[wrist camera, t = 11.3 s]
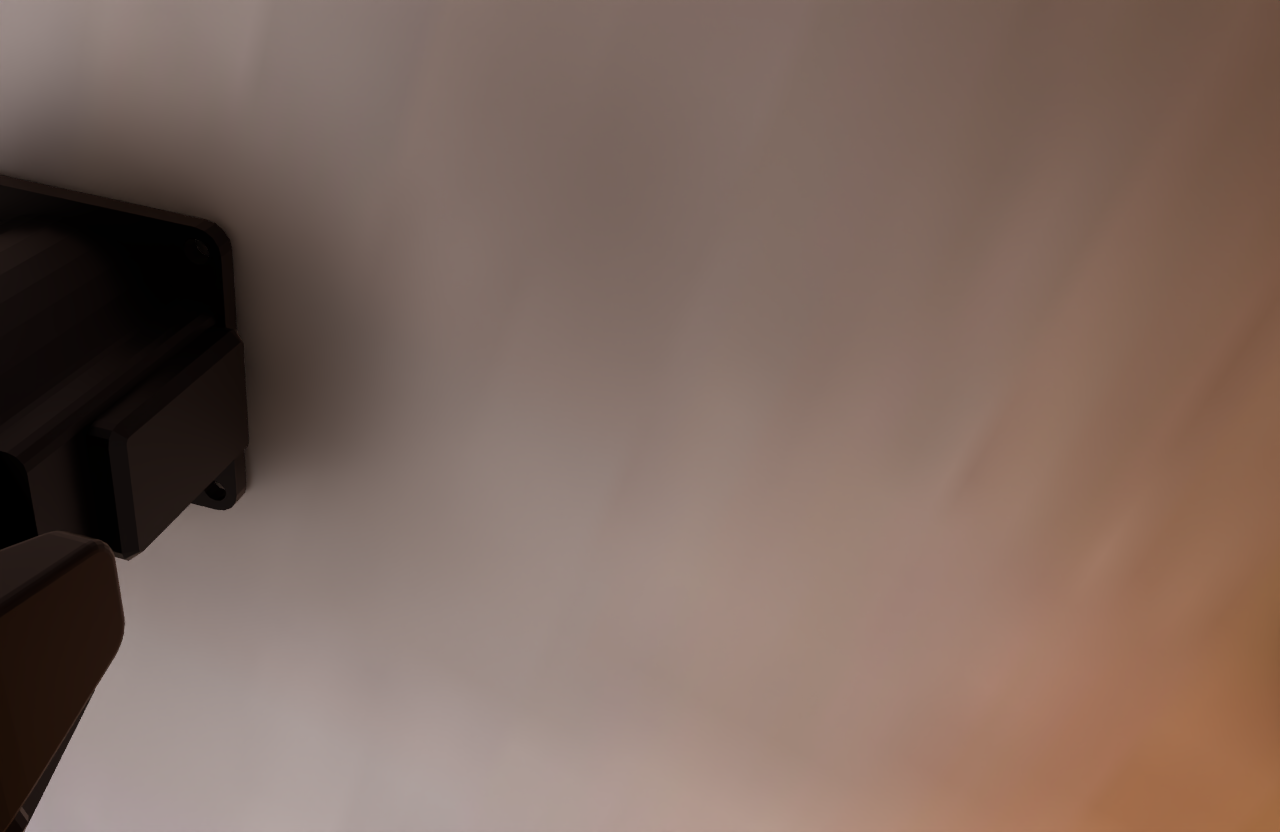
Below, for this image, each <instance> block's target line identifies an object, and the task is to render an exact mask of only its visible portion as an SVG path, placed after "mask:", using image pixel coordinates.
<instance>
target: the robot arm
mask: <svg viewBox="0 0 1280 832" xmlns="http://www.w3.org/2000/svg"><path fill="white" fill-rule="evenodd" d="M196 239H197V240H199V241H201V242H202V243H203V244H204V245H205V246H206V247H207V249H208V252H209V256H207V255H204V254H202V252H201V251H200V250H199V249H198V248H197V245H196V242H195V241H196ZM248 443H249V434H248V417H247V399H246V381H245V364H244V346H243V342H242V340H241V338H240V336H239V334H238V332H237V323H236V306H235V289H234V272H233V256H232V247H231V243H230V239H229V238H228V236H227V235H226V233H225V231H224V230H223V229H221V228H220V227H219V226H218V225H217V224H216V223H213V222H211V221H208V220H206V219H201V218H196V217H192V216H187V215H183V214H178V213H173V212H169V211H164V210H159V209H155V208H150V207H146V206H141V205H136V204H132V203H127V202H122V201H118V200H113V199H109V198H104V197H99V196H95V195H90V194H86V193H81V192H76V191H72V190H67V189H62V188H58V187H53V186H49V185H44V184H39V183H35V182H30V181H25V180H21V179H16V178H12V177H7V176H2V175H0V832H25V829H26V827H27V825H28V823H29V821H30V819H31V817H32V815H33V813H34V811H35V809H36V807H37V805H38V803H39V801H40V799H41V797H42V795H43V793H44V791H45V789H46V787H47V785H48V783H49V781H50V779H51V777H52V775H53V773H54V771H55V769H56V767H57V765H58V763H59V761H60V759H61V757H62V755H63V753H64V751H65V749H66V747H67V745H68V743H69V741H70V739H71V737H72V735H73V733H74V731H75V729H76V727H77V725H78V723H79V721H80V719H81V717H82V715H83V713H84V711H85V709H86V707H87V705H88V703H89V701H90V699H91V697H92V695H93V693H94V691H95V688H96V687H97V685H98V683H99V682H100V680H101V678H102V677H103V675H104V674H105V672H106V670H107V669H108V667H109V665H110V664H111V662H112V661H113V659H114V657H115V656H116V654H117V652H118V650H119V647H120V645H121V642H122V639H123V635H124V626H125V619H124V612H123V606H122V599H121V593H120V587H119V580H118V574H117V567H116V561H115V557H117V558H121V559H125V560H128V561H129V560H131V559H132V558H134V557H135V556H137V555H138V554H140V553H141V552H143V551H144V550H145V549H146V548H147V547H148V546H149V545H150V544H151V543H152V542H153V541H154V540H155V539H156V538H157V537H158V536H159V535H160V534H161V533H162V532H163V531H164V530H165V529H166V528H167V527H168V526H169V525H170V524H171V523H172V522H173V521H174V520H175V519H176V518H177V517H178V516H179V515H180V514H181V513H182V512H183V511H184V510H185V509H186V508H187V507H188V505H189V504H190V503H192V504H196V505H200V506H204V507H208V508H212V509H216V510H226V509H229V508H232V506H233V505H234V504H235V503H236V502H237V501H238V500H239V499H240V498H241V497H242V496H243V494H244V493H245V490H246V474H245V457H244V449H245V448H246V447H247V446H248ZM215 481H216V482H218V483H220V484H221V485H222V486H223V487H224V489H225V490H224V489H222V488H220V487H219V486H218V485H217V484H216V483H215Z"/></svg>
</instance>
